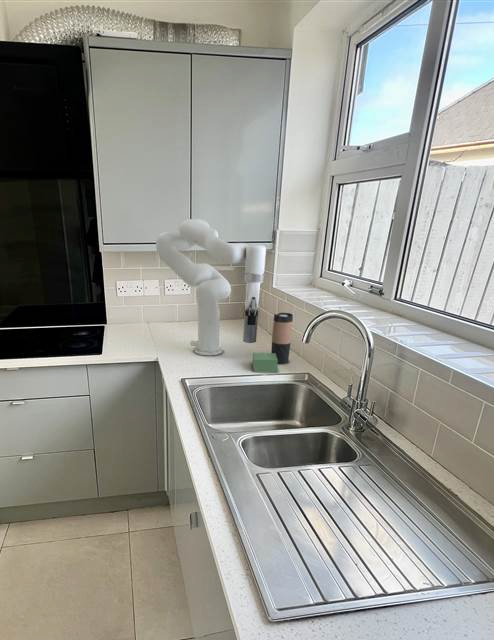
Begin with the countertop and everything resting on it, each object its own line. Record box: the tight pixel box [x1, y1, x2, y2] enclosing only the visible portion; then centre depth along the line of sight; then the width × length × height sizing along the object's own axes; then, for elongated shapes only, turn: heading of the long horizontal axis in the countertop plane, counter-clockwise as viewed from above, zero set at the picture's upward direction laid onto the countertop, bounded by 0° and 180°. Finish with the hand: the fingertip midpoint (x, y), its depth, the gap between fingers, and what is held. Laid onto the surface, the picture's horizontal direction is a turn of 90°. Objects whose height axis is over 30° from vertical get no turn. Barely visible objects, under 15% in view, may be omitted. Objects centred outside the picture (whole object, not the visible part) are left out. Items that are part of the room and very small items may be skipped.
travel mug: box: [270, 312, 294, 365], centre depth 168 cm, size 8×8×20 cm
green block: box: [252, 352, 279, 373], centre depth 163 cm, size 9×9×5 cm
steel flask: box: [242, 308, 259, 344], centre depth 166 cm, size 5×5×13 cm
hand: (250, 322), depth 166 cm, fingers closed on steel flask, 5 cm apart
